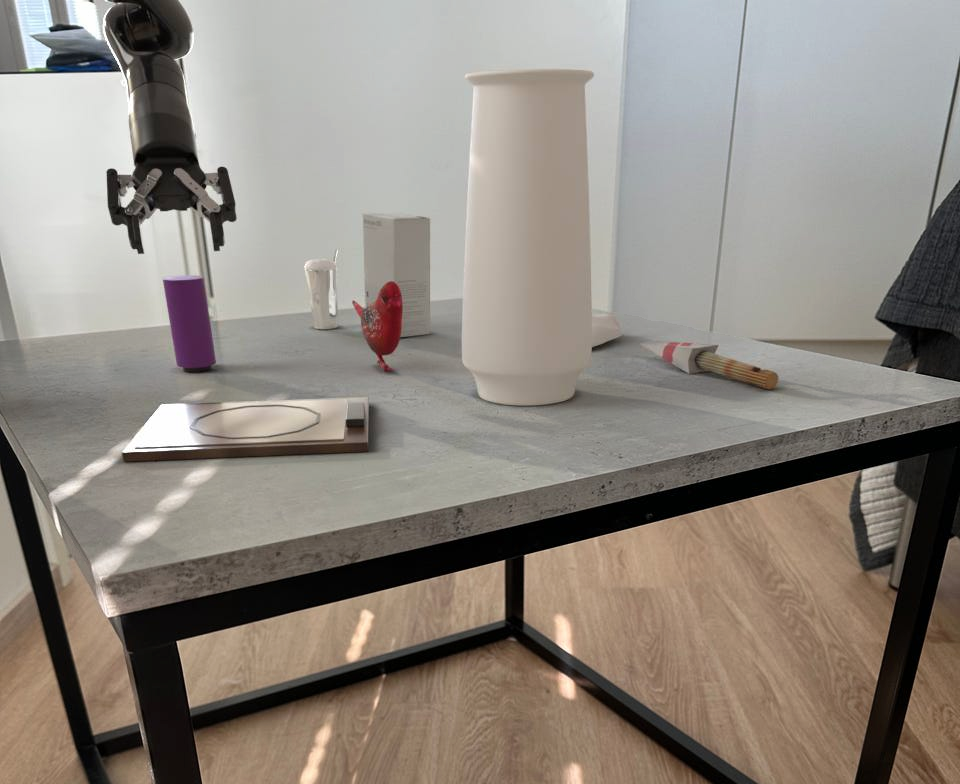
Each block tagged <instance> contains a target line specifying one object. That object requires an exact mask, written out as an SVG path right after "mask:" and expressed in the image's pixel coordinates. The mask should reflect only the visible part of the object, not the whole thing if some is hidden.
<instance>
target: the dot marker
mask: <svg viewBox="0 0 960 784" xmlns="http://www.w3.org/2000/svg"><path fill="white" fill-rule="evenodd" d="M162 283H163V288H164V295H165V296H164V297H165V302H166V308H167V314H168V320H169V325H170V331H171V338H172V343H173V344H172V345H173V349H174V356H175V363H176V366H177V367H179V368H182V371H183V372H186V373H202V372H208V371H211V369H212V366H213V365H216V363H217V360H216V354H215V353H216V352H215V347H214V339H213V333H212V325H211V318H210V311H209V304H208V298H207V291H206V290H207V289H206V283H205V277H204V276H203V275H195V274H193V275H192V274H186V275H185V274H183V275H172V276H166V277H163V278H162Z"/></svg>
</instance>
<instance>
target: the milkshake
mask: <svg viewBox="0 0 960 784" xmlns="http://www.w3.org/2000/svg"><path fill="white" fill-rule="evenodd" d="M338 251H339V250H338V249H335V252H334V254H333V259H326V258H314V259H309V260H307V261H306V262H305V264H304V266H303V269H304V275H305V280H306V285H307V290H308V297H309V303H310V304H309V305H310V308H311V315H312V322H313V327H314V329H317V330H333V329H337V328H338V327H339V319H338V317H339V316H338V313H339V311H338V264H337V263H336V260H337V255H338Z"/></svg>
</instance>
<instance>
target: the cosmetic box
mask: <svg viewBox="0 0 960 784" xmlns="http://www.w3.org/2000/svg"><path fill="white" fill-rule="evenodd" d="M362 235H363V240H362V242H363V271H364V274H363V276H364V278H363V279H364V281H363V282H364V308H365V307H366V306H368V305H369V304H370V303H373V302H375V301H376V300H377V297H378V294H379V292H380V289H381V288H382V287H383V286H384V285H385V284H386V283H387V282H390V281H393V282H395V283H396V284H397V285H398V287H399V289H400V291H401V295H402V305H403V312H402V329H401V336H400V338H407V337H417V336H425V335H430V334H431V218H430V217H426V216H422V215H416V214H412V213H403V212H364V213H362Z"/></svg>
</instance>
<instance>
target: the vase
mask: <svg viewBox="0 0 960 784" xmlns="http://www.w3.org/2000/svg"><path fill="white" fill-rule="evenodd" d="M594 77H595V73H594V71H592V70H585V69H584V70H583V69H566V68H565V69H563V68H544V69H543V68H537V69H536V68H533V69H532V68H531V69H503V70H487V71H486V70H485V71H484V70H483V71H475V72H470V73H466V74H465V75H464V80H465V81H466V82H467V83H468V84H470V85H471V86H472V88H473V90H472V91H473V93H472V106H471V107H472V109H471V125H470V126H471V127H470V140H469V141H470V143H469V144H470V145H469V159H468V178H467V196H466V198H467V199H466V216H465V217H466V218H465V236H464V238H465V239H464V258H463V259H464V262H463V283H462V284H463V285H462V311H461V312H462V313H461V314H462V316H461V361H462V364H463V366H464V367H465V368H466V369H468V370H469V372H470V373H471V374H472V376H473V378H474V380H475V384H476V390H477V395H478V396H479V397H480V398H481V399H482V400H485V401H486V402H490V403H493V404H499V405H506V406H522V407H523V406H525V407H528V406H530V407H531V406H545V405H553V404H557V403H561V402H562V403H563V402H565V401H567V400H570V399H572V397H573V396H574V395H575V392H576V387H577V383H578V380H579V377H580V375H581V374H582V372H583V371H584V370H585V369H586V368H587V367H588V366H590V364H591V362H592V351H593V350H592V349H593V347H592V311H593V306H592V305H593V302H592V299H593V298H592V258H591V257H592V256H591V253H592V252H591V251H592V250H591V220H590V216H591V215H590V191H589V190H590V188H589V159H588V156H589V155H588V135H587V133H588V132H587V110H586V109H587V107H586V106H587V105H586V84H587V83H589V82H590V81H591V80H592V79H593V78H594Z"/></svg>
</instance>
